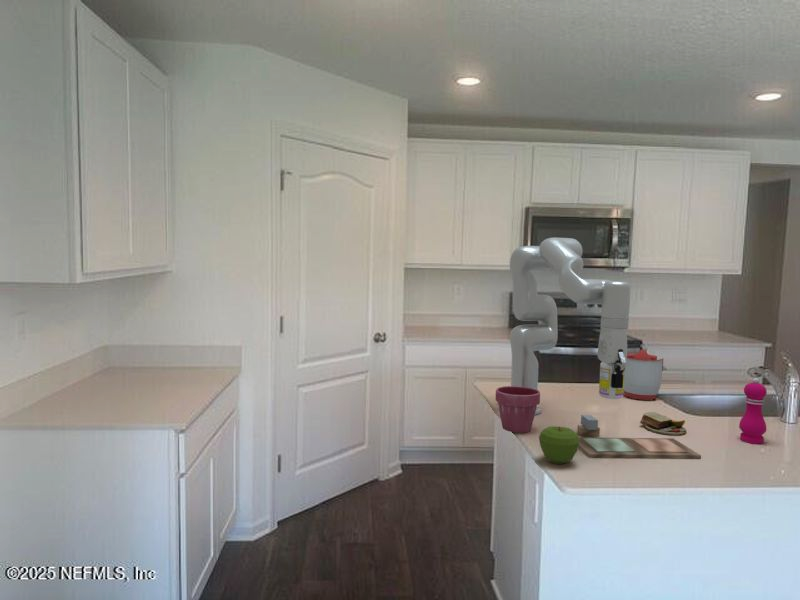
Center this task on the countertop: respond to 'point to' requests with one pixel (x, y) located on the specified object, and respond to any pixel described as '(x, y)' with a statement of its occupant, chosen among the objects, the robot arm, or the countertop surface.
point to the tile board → (636, 448)
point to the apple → (558, 444)
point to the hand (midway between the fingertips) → (611, 384)
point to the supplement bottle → (608, 383)
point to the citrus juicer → (642, 376)
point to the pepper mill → (753, 413)
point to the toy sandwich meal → (662, 424)
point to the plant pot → (517, 407)
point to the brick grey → (589, 422)
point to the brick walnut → (587, 432)
